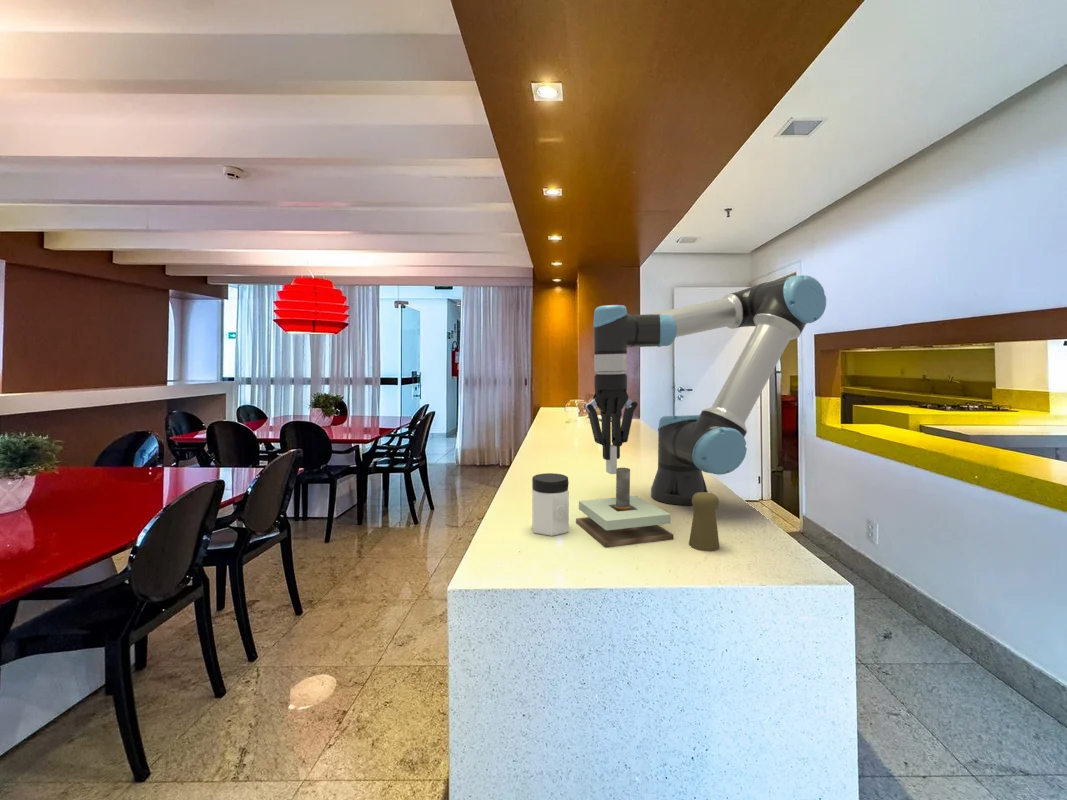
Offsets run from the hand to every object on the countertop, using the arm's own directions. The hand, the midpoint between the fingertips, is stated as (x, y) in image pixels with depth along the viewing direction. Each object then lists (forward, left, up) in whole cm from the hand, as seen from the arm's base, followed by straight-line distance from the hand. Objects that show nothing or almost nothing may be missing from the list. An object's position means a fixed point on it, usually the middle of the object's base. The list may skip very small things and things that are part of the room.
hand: (611, 472), depth 117 cm
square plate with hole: (+1, +7, -8) cm, 11 cm away
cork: (-11, +20, -12) cm, 26 cm away
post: (+1, +7, -12) cm, 14 cm away
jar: (+16, +1, -12) cm, 20 cm away
